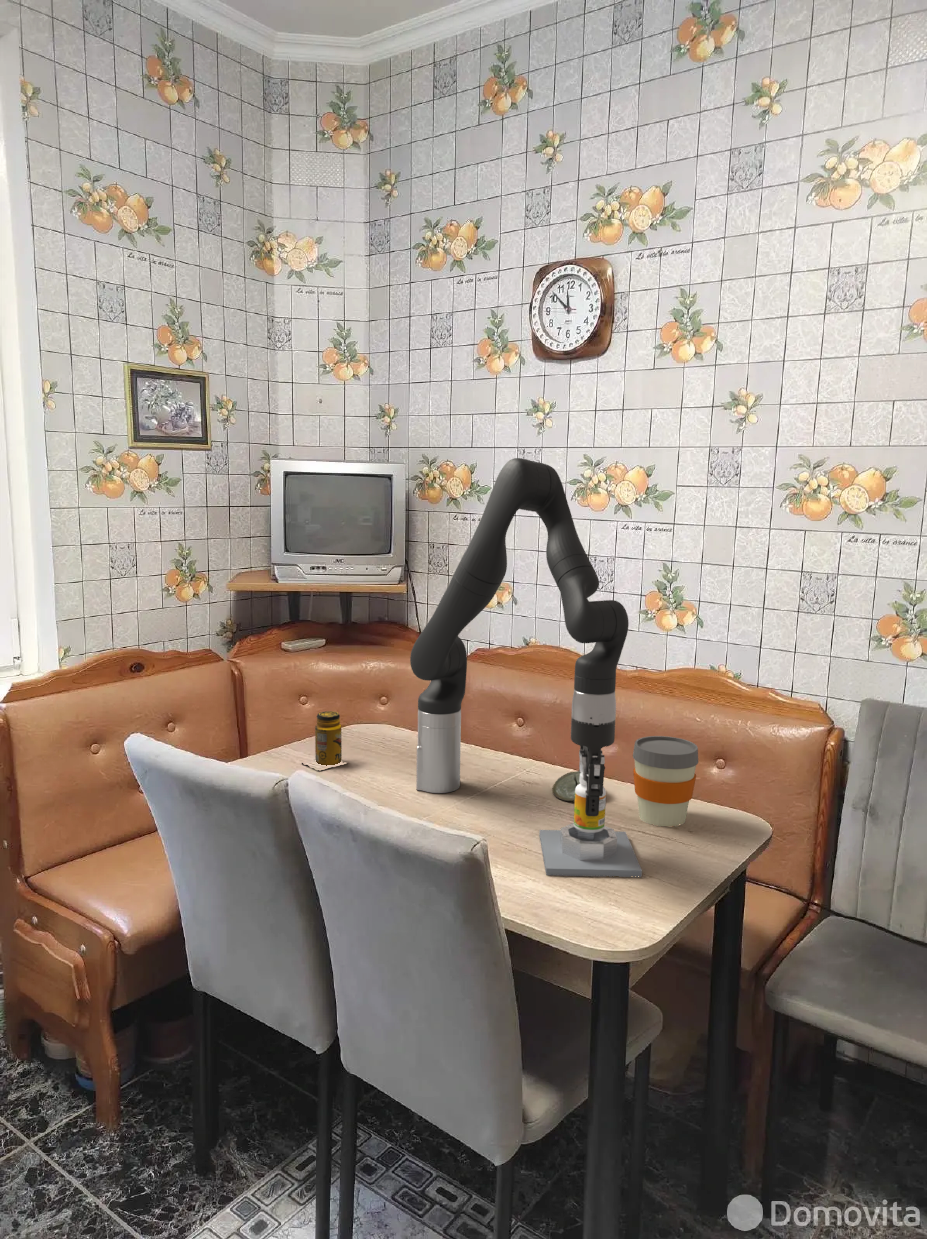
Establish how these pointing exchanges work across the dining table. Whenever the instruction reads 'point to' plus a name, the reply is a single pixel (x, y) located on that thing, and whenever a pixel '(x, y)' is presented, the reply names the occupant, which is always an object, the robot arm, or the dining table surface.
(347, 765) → the dining table surface
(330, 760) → the condiment
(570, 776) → the lid
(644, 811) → the reusable coffee cup
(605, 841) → the steel collar
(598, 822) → the supplement bottle
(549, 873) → the hub plate
